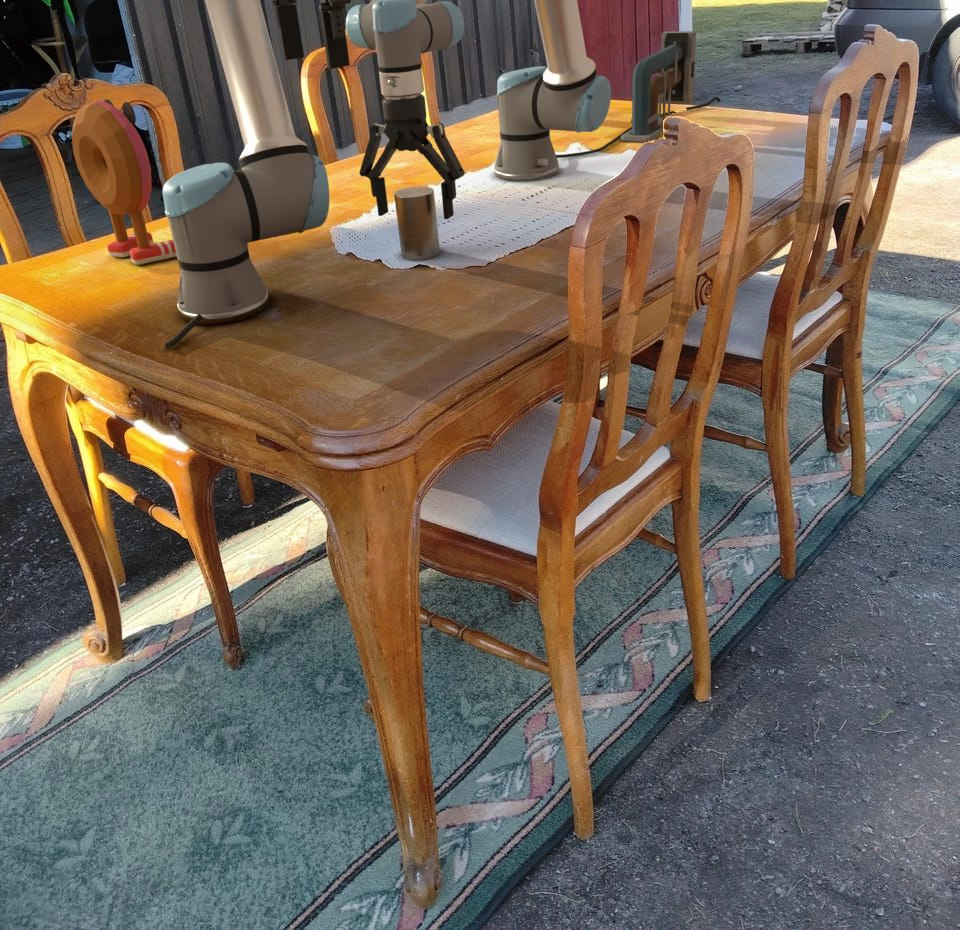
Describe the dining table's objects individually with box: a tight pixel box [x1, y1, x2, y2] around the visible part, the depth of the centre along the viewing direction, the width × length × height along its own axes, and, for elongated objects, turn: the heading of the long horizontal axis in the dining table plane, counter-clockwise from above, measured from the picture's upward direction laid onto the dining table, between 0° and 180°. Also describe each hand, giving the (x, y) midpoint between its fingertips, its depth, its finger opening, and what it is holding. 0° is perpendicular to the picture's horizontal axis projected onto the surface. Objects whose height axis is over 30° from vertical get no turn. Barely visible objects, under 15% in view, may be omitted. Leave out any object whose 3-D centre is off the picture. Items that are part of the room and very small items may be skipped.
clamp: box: [619, 30, 697, 143], centre depth 257 cm, size 35×9×21 cm, turn 151°
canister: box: [393, 185, 441, 261], centre depth 181 cm, size 7×7×12 cm
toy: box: [71, 98, 177, 266], centre depth 188 cm, size 21×10×30 cm, turn 47°
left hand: (315, 63), depth 126 cm, fingers open, 13 cm apart
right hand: (415, 215), depth 180 cm, fingers open, 13 cm apart
